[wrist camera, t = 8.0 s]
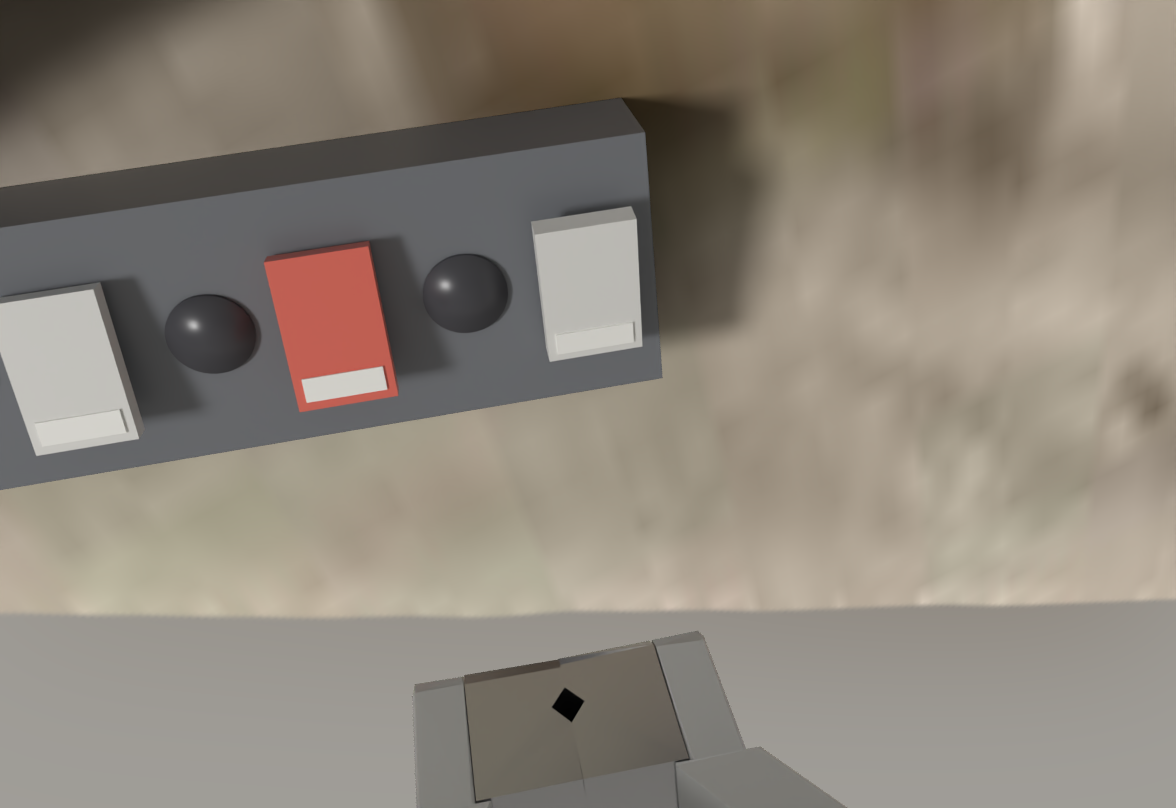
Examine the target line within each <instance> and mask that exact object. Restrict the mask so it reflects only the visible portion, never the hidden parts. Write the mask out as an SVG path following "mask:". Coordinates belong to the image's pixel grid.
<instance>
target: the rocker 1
mask: <svg viewBox="0 0 1176 808" xmlns="http://www.w3.org/2000/svg"><path fill="white" fill-rule="evenodd" d="M0 354H1V357H2V359H3V362H4V365H5V368H6V371H7V374H8V377H9V379H10V382H11V385H12V388H13V391H14V394H15V397H16V399H17V402H18V405H19V408H20V411H21V414H22V417H23V419H24V422H25V425H26V428H27V431H28V434H29V436H30V439H31V442H32V445H33V448H34V451H35V454H36V456H39V455H45V454H51V453H57V452H63V451H69V450H75V449H81V448H87V447H93V446H99V445H105V444H111V443H117V442H123V441H129V440H135V439H139V438H140V437H141V435H142V433H143V431H144V430H145V428H144V425H143V421H142V418H141V415H140V412H139V408H138V405H137V402H136V398H135V395H134V392H133V389H132V385H131V382H130V379H129V375H128V372H127V369H126V366H125V362H124V359H123V356H122V352H121V349H120V346H119V343H118V339H117V336H116V333H115V330H114V326H113V323H112V320H111V316H110V313H109V310H108V307H107V303H106V300H105V297H104V293H103V290H102V287H101V284H100V282H99V283H92V284H86V285H79V286H73V287H66V288H60V289H53V290H47V291H40V292H34V293H27V294H21V295H14V296H8V297H1V298H0Z"/></svg>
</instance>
